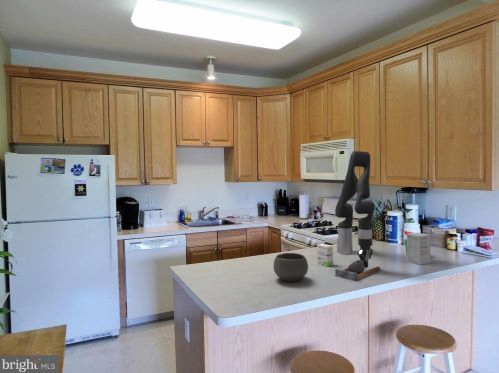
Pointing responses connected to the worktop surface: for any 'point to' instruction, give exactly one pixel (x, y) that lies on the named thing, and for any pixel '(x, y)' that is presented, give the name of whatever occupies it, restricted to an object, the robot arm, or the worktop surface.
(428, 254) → the supplement box
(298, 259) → the bowl
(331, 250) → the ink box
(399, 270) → the worktop surface
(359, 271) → the perforated stone tool
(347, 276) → the channel
